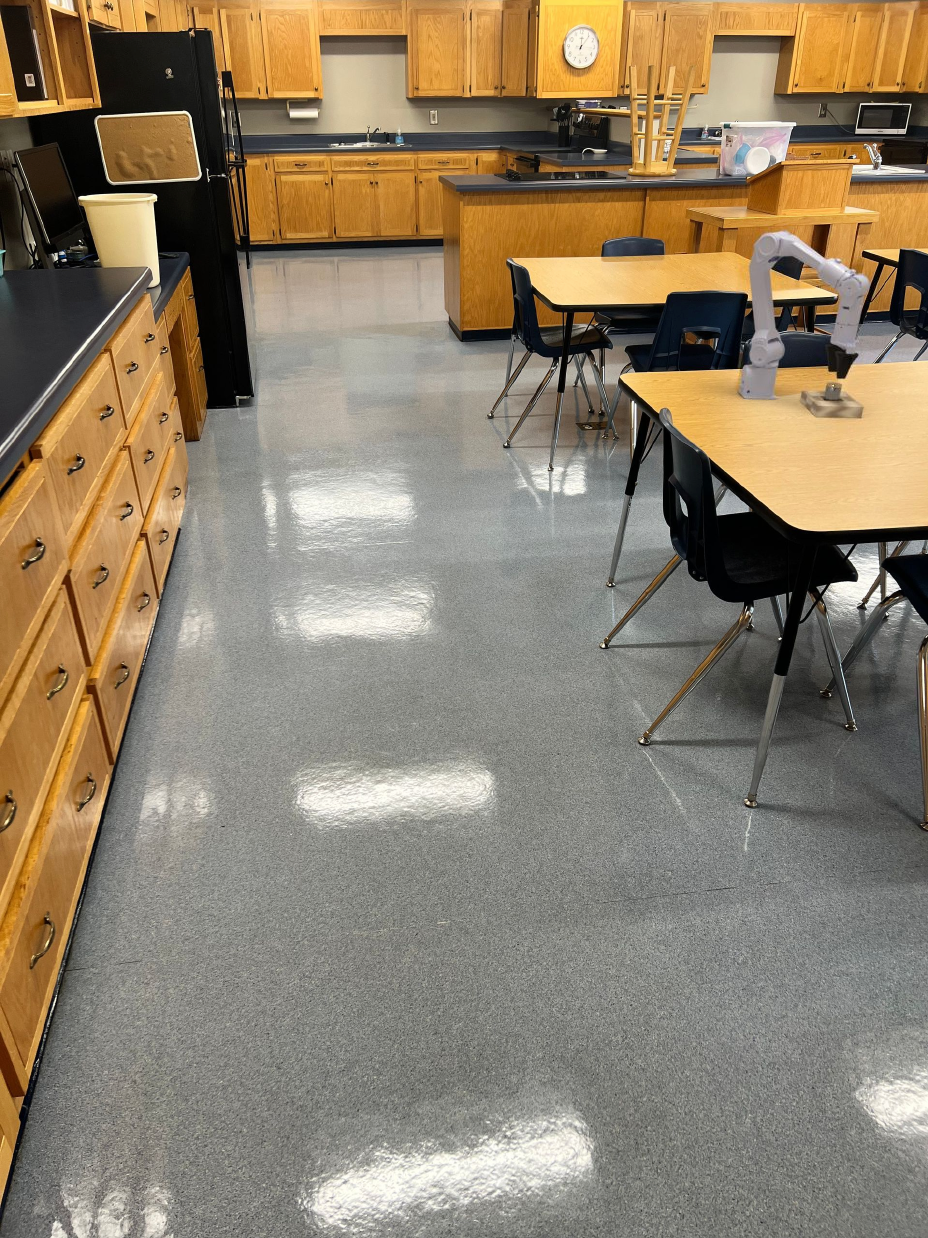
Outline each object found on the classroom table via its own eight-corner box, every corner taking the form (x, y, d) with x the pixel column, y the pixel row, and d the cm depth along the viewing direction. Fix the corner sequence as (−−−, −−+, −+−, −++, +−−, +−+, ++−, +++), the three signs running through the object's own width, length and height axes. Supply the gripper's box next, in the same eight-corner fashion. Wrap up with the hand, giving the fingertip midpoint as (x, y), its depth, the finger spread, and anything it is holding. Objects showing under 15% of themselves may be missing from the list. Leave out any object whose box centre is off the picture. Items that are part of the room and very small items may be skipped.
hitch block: (815, 416, 242) (818, 405, 241) (799, 401, 256) (801, 390, 255) (861, 417, 241) (863, 406, 240) (842, 401, 255) (845, 391, 254)
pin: (824, 411, 247) (829, 385, 244) (819, 407, 251) (824, 382, 247) (839, 411, 247) (844, 385, 244) (834, 407, 250) (839, 382, 247)
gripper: (871, 328, 231) (860, 381, 238) (853, 318, 244) (843, 368, 250) (843, 328, 232) (833, 381, 238) (827, 318, 244) (817, 368, 251)
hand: (836, 375), depth 244 cm, fingers open, 7 cm apart
